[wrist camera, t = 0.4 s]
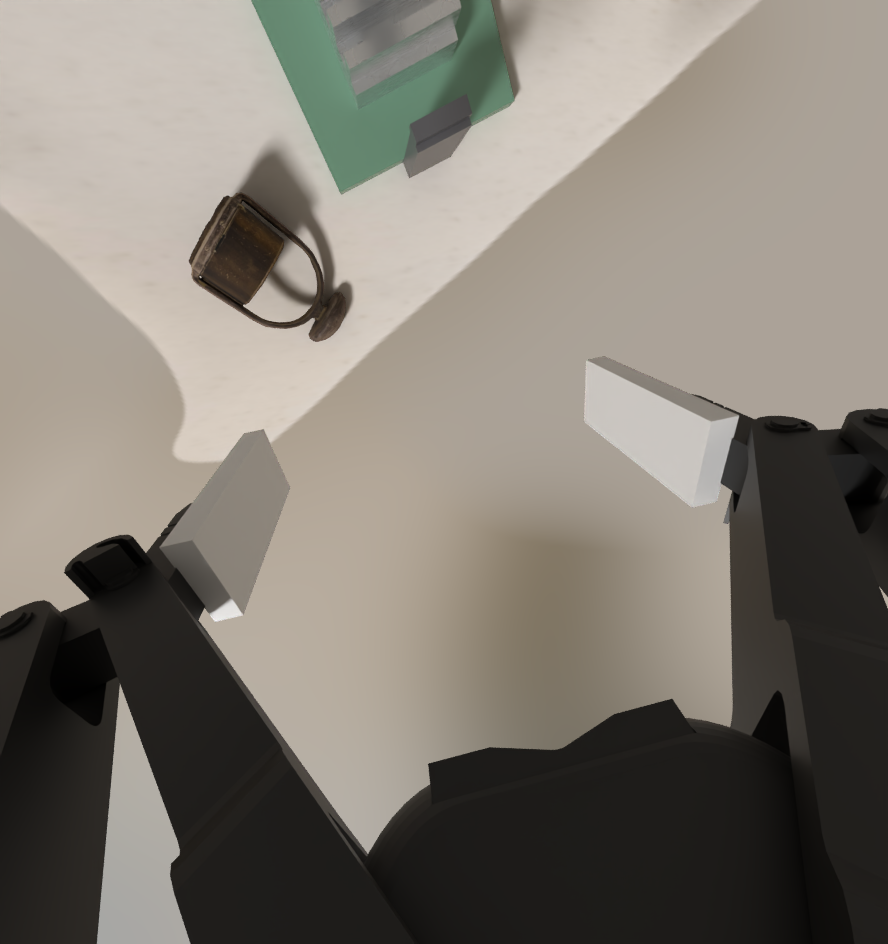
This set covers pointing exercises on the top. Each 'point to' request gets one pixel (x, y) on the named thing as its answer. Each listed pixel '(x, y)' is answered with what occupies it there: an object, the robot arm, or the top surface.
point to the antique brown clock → (254, 264)
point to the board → (387, 119)
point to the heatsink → (388, 41)
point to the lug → (437, 135)
